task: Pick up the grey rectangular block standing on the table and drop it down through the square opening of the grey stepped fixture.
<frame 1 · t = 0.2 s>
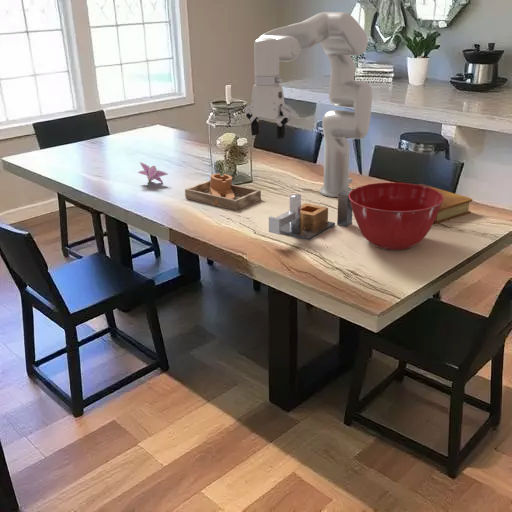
hand: (267, 136, 198), 31 cm above the table, tool pointing down, fingers open, 9 cm apart
bracket: (221, 198, 240), resting in wooden tray
mixing bowl: (392, 242, 197), on the table
grey rectangular block: (344, 224, 212), on the table
wooden tray: (222, 198, 240), on the table
grey stepped fixture: (304, 228, 209), on the table
lily: (152, 185, 259), on the table
diary: (427, 211, 224), on the table
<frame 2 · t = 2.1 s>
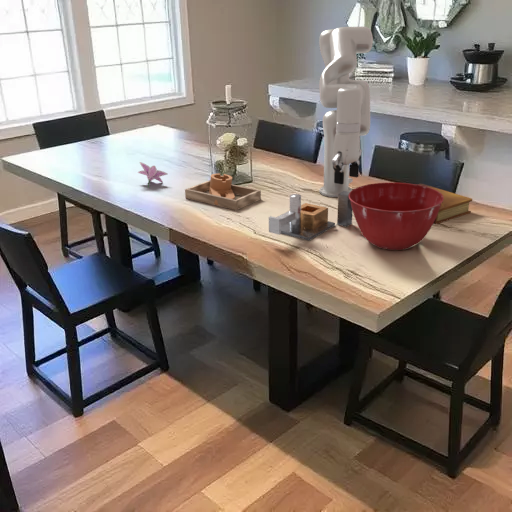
hand: (346, 180, 205), 16 cm above the table, tool pointing down, fingers open, 9 cm apart
nothing on the table moved.
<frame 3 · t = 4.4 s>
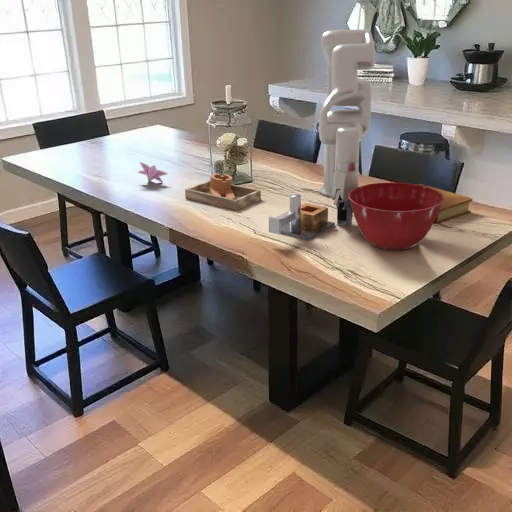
hand: (344, 217, 211), 2 cm above the table, tool pointing down, fingers closed on grey rectangular block, 3 cm apart
grey rectangular block: (344, 224, 212), on the table, touching gripper
everything else where it was.
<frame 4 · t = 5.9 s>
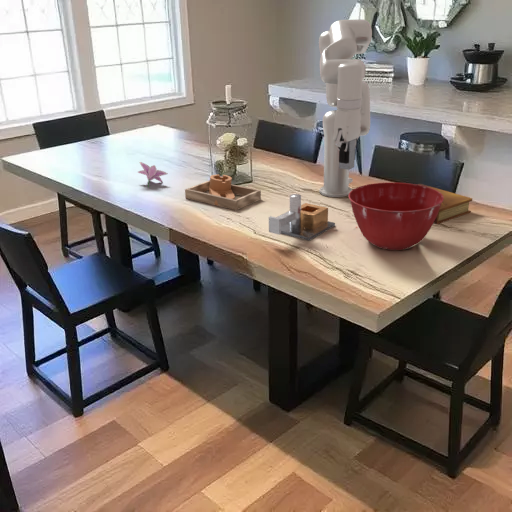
hand: (346, 160, 203), 22 cm above the table, tool pointing down, fingers closed on grey rectangular block, 3 cm apart
grey rectangular block: (346, 167, 204), point 20 cm above the table, touching gripper
everything else where it was.
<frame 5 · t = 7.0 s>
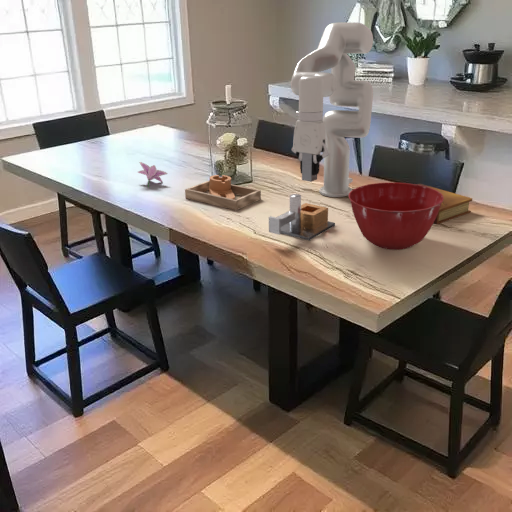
hand: (309, 173, 203), 19 cm above the table, tool pointing down, fingers closed on grey rectangular block, 3 cm apart
grey rectangular block: (309, 179, 204), point 16 cm above the table, touching gripper
everything else where it was.
when the fingers open (7 cm above the table, at t = 9.5 s): grey rectangular block drops 4 cm, resting on grey stepped fixture.
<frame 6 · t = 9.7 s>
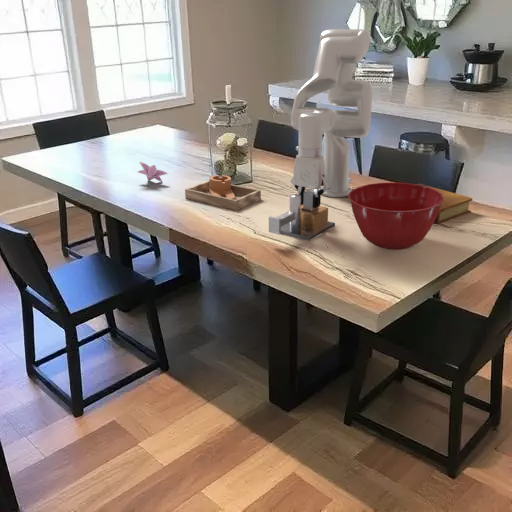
hand: (309, 205, 208), 7 cm above the table, tool pointing down, fingers open, 4 cm apart
grey rectangular block: (310, 223, 211), point 1 cm above the table, touching gripper, grey stepped fixture
everything else where it was.
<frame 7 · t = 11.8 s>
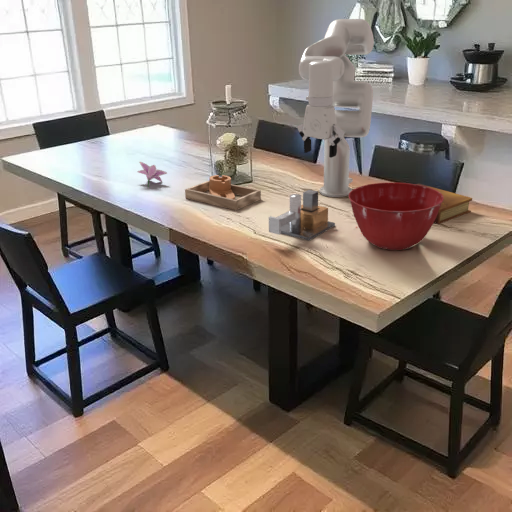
hand: (320, 154, 205), 24 cm above the table, tool pointing down, fingers open, 9 cm apart
grey rectangular block: (310, 223, 211), point 1 cm above the table, touching grey stepped fixture
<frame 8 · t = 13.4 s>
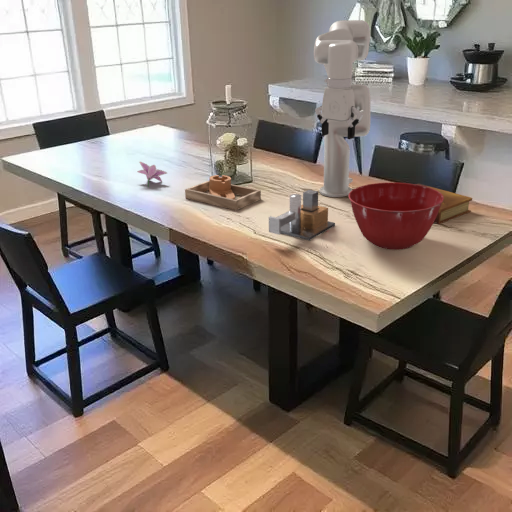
hand: (337, 136, 207), 28 cm above the table, tool pointing down, fingers open, 9 cm apart
at the end: grey rectangular block 0.3 cm from the target spot on the grey stepped fixture, point 1.0 cm above the grey stepped fixture's base; grey rectangular block tilted 0°; the gripper is holding nothing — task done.
